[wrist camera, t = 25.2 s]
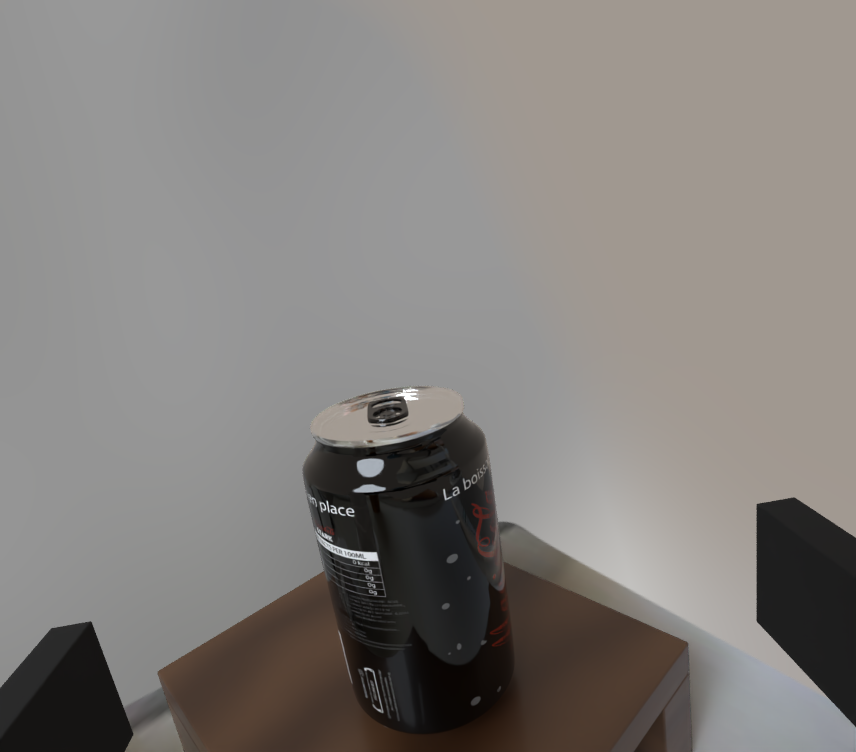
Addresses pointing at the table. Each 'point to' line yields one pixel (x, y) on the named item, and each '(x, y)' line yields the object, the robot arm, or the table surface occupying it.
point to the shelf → (460, 748)
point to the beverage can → (412, 556)
